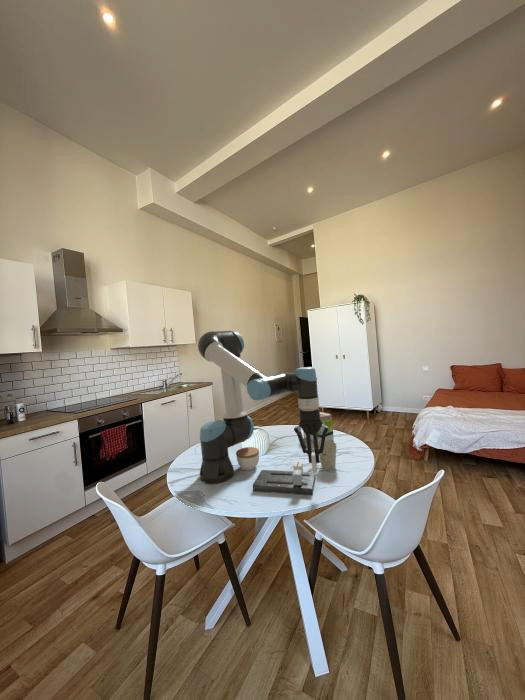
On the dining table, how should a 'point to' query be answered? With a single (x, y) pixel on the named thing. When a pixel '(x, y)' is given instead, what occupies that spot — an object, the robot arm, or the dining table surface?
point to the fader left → (298, 466)
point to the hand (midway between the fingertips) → (315, 471)
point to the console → (284, 482)
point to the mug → (327, 455)
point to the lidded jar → (248, 458)
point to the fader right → (297, 477)
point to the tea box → (326, 421)
